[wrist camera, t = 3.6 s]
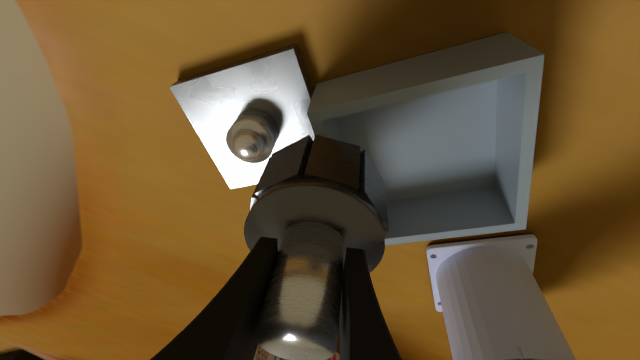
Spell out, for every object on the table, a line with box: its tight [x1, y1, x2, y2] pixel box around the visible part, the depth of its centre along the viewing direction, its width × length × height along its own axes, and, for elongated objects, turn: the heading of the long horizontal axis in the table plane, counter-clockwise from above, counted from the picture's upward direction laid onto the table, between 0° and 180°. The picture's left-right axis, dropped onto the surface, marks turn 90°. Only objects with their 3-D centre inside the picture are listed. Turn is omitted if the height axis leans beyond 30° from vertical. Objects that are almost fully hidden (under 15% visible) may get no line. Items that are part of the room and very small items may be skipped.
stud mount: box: [169, 44, 315, 189], centre depth 19 cm, size 8×8×4 cm
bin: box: [307, 32, 545, 245], centre depth 18 cm, size 10×10×4 cm
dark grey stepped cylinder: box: [244, 134, 389, 360], centre depth 13 cm, size 6×6×8 cm
